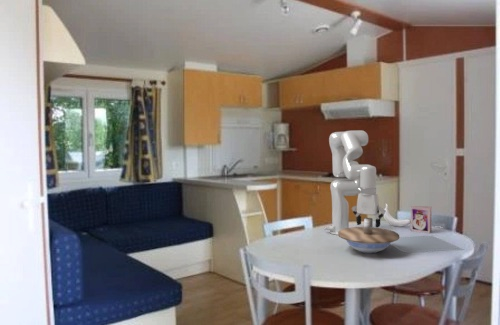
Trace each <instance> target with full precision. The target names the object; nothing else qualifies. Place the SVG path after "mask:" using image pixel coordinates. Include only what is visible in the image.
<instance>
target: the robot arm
mask: <svg viewBox="0 0 500 325" xmlns="http://www.w3.org/2000/svg"><path fill="white" fill-rule="evenodd" d="M328 142H329V147H330V151H331V154H332V156H331V158H332V162H331V163H332V174H333V176H334V177H335V178H346V179H334V180H333V181H331V183H330V186H329V188H330V195H331V213H332V214H331V220H332V222H331V223H332V224H330V225H329V226H324V228H323V229H324V230H325V231H329V233H330V234H331V235H337V236H338V232H339V231H340V230H342V229H345V228H350V227H349V226H350V225H349V223H350V221H349V217H350V216H349V208H350V207H349V205H350V204H349V201H348V200H347V199H346V198H345V197H347V196H349V197H350V196H357V199H356V200H357V201H356V205H354V206H352V207H351V210H352V213H353V214H354V215H355V217H356V225H357V226H360V225H362V215H366V216H367V215H368V216H374V217H375V228H380V226H381V219H382V218H384V214H385V212H386V210H384V209H385V208H382V207H381V206H380V201H379V200H380V199H379V196H378V194H377V168H376V166H374V165H371V164H359V162H358V161H355V160H356V159H359V158H360V157H361V156H362V155H363V153H364V152H363V148H362V147H364V146H367V145H368V144H369V135H368V133H367V132H366V131H364V130H359V129H358V130H346V131H335V132H332V133H331V134H330V135H329V138H328Z"/></svg>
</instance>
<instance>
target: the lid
mask: <svg viewBox="0 0 500 325" xmlns="http://www.w3.org/2000/svg"><path fill="white" fill-rule="evenodd" d="M373 223H374V222H373V218H372V217H365V218H363V226H355V227H349V228H345V229H342V230H340V231H339V232H338V235H337V236H338V237H339V238H341V239H343V240H345V241H346V240H348V241H353V242H359V243H371V244H380V243H390V242H394V241H397V240H398V239H399V237H400V234H399V233H398V232H396V231H393V230H390V229H387V228H382V227H373Z"/></svg>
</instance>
